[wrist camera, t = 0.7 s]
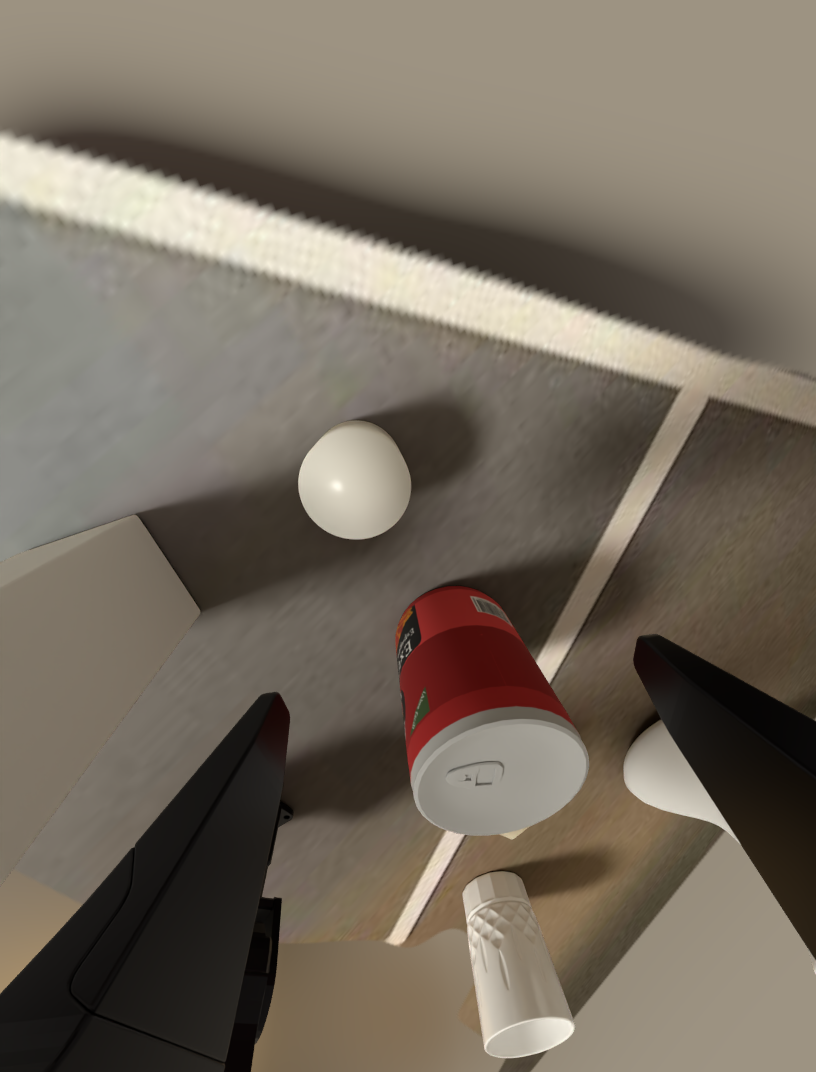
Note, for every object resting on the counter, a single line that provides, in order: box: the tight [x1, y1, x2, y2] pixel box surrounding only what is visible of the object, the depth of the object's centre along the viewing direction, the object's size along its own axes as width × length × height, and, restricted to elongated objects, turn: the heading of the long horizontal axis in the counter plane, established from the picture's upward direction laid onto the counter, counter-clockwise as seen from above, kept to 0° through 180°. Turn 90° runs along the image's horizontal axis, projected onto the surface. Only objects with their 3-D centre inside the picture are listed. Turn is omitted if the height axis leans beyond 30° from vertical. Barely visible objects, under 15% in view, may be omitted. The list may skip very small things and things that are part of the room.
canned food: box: [396, 586, 589, 835], centre depth 21 cm, size 8×8×11 cm
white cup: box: [463, 871, 575, 1058], centre depth 35 cm, size 8×8×10 cm
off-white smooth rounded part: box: [298, 420, 411, 540], centre depth 19 cm, size 5×5×5 cm
